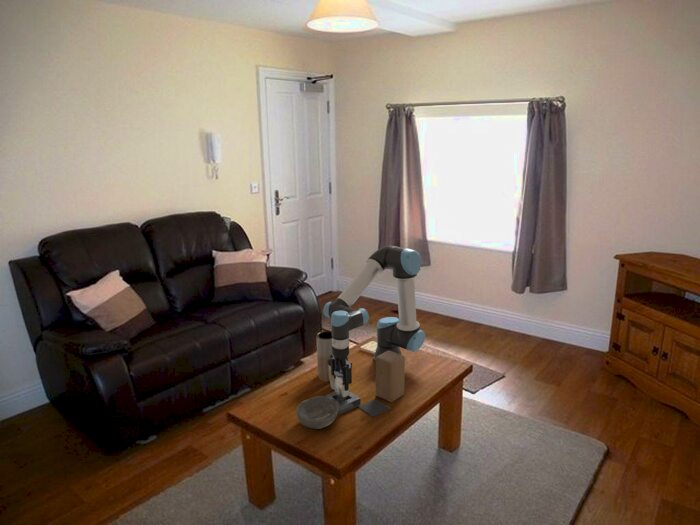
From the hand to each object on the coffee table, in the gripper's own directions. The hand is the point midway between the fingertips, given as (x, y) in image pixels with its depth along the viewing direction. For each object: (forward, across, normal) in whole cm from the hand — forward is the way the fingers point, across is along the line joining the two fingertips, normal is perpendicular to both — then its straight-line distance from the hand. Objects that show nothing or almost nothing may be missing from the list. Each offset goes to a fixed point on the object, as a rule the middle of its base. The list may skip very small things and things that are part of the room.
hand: (341, 393), depth 222 cm
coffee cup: (+6, -14, +8) cm, 17 cm away
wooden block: (+6, +8, +22) cm, 24 cm away
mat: (+5, +12, +9) cm, 16 cm away
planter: (+6, -25, +10) cm, 28 cm away
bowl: (+6, +6, -17) cm, 19 cm away
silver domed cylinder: (+5, 0, 0) cm, 5 cm away
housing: (+5, 0, 0) cm, 5 cm away
